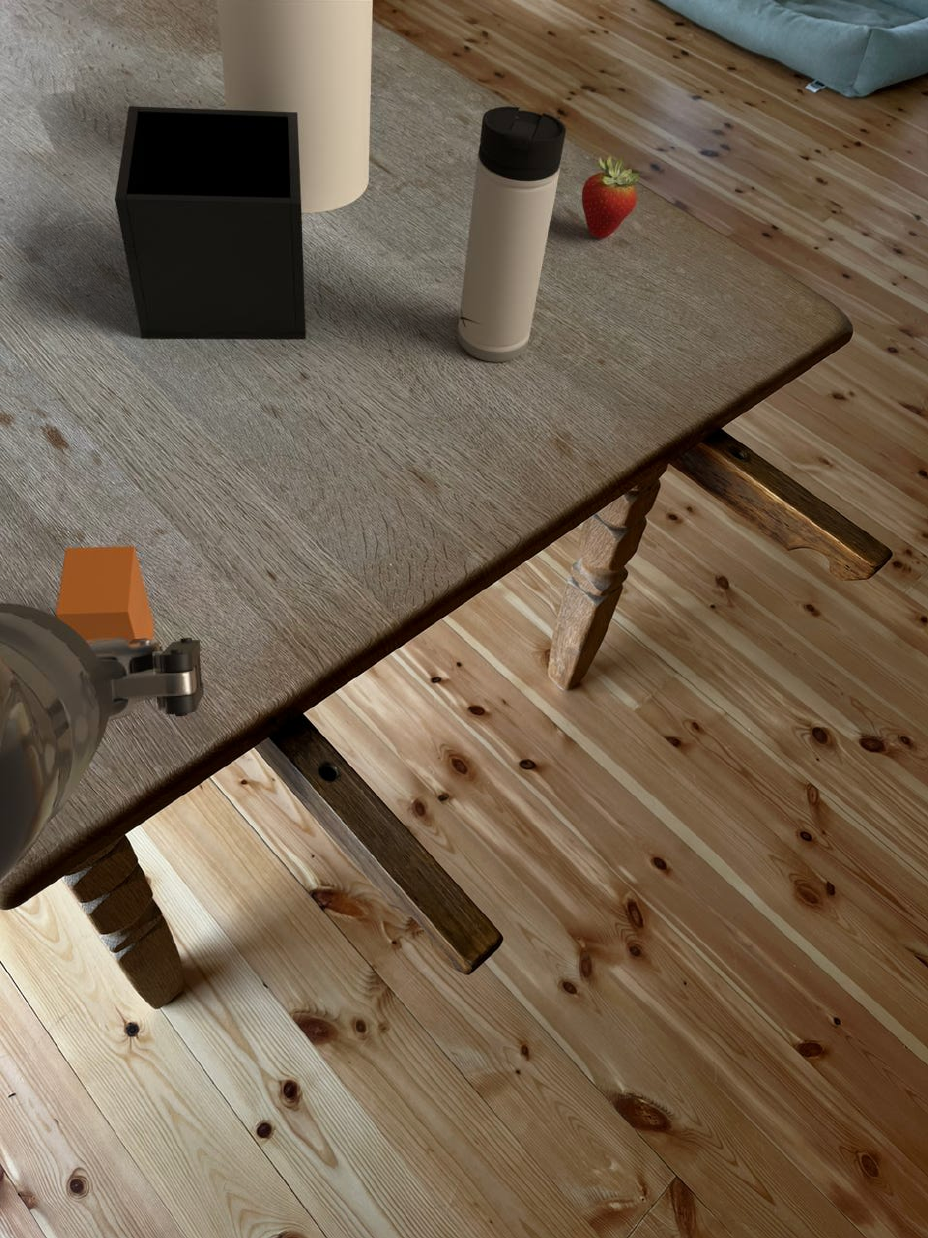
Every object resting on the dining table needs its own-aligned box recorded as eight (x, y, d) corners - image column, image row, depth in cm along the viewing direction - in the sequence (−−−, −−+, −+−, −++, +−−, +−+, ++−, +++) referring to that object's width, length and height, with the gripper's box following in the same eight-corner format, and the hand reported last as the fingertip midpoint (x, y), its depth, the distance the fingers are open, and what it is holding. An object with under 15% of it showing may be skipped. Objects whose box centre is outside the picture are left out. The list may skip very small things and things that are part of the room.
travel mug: (448, 356, 87) (472, 128, 71) (466, 311, 91) (493, 85, 75) (518, 372, 86) (559, 147, 70) (533, 327, 90) (575, 103, 74)
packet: (84, 689, 64) (55, 614, 57) (91, 625, 67) (65, 547, 60) (149, 686, 64) (128, 611, 58) (154, 623, 67) (134, 545, 61)
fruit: (633, 251, 99) (654, 174, 93) (583, 255, 98) (600, 177, 91) (615, 221, 102) (633, 144, 95) (565, 225, 101) (581, 147, 94)
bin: (141, 338, 84) (114, 199, 74) (151, 243, 92) (128, 105, 82) (305, 339, 86) (301, 203, 76) (302, 245, 94) (297, 111, 84)
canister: (389, 200, 100) (398, -22, 84) (258, 222, 96) (241, -7, 80) (339, 131, 107) (339, -86, 91) (215, 149, 102) (191, -76, 86)
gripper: (-260, 864, 31) (-105, 758, 47) (208, 811, 35) (207, 729, 51) (-287, 625, 31) (-122, 599, 47) (192, 595, 34) (196, 580, 50)
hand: (50, 667), depth 49 cm, fingers open, 8 cm apart
